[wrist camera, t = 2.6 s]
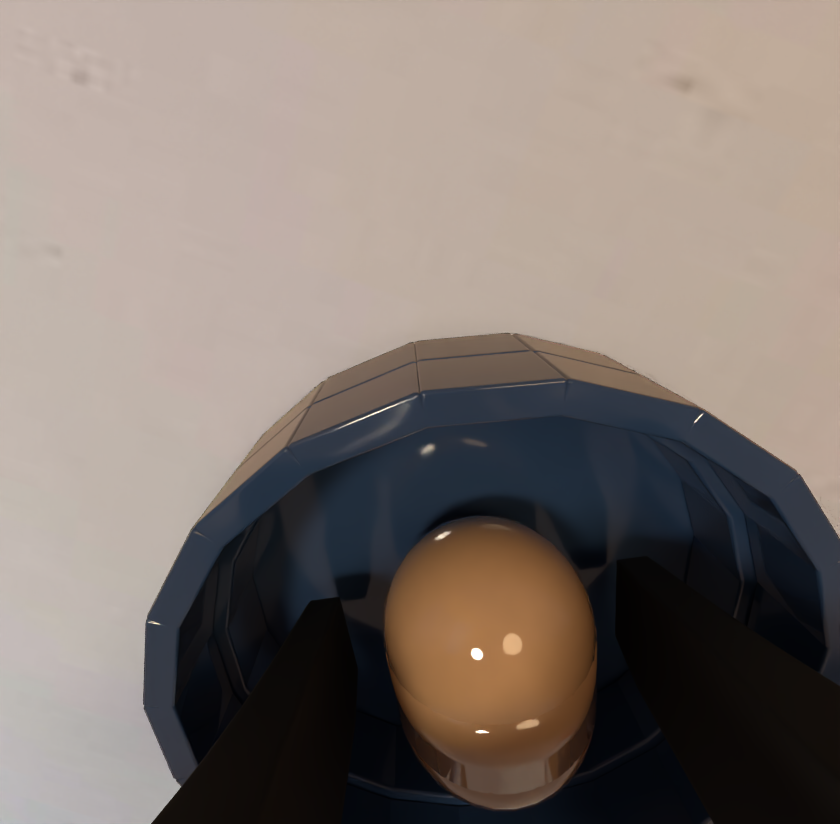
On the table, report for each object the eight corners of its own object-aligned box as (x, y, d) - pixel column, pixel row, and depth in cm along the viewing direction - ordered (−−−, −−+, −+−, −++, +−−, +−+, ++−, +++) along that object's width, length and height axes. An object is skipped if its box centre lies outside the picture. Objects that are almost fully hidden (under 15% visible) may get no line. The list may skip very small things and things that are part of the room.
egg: (559, 657, 11) (632, 849, 8) (409, 676, 11) (411, 876, 8) (553, 467, 9) (646, 604, 6) (372, 491, 9) (353, 643, 6)
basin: (524, 779, 13) (563, 951, 10) (154, 639, 11) (49, 805, 8) (815, 493, 10) (1011, 612, 7) (381, 210, 8) (366, 184, 5)
